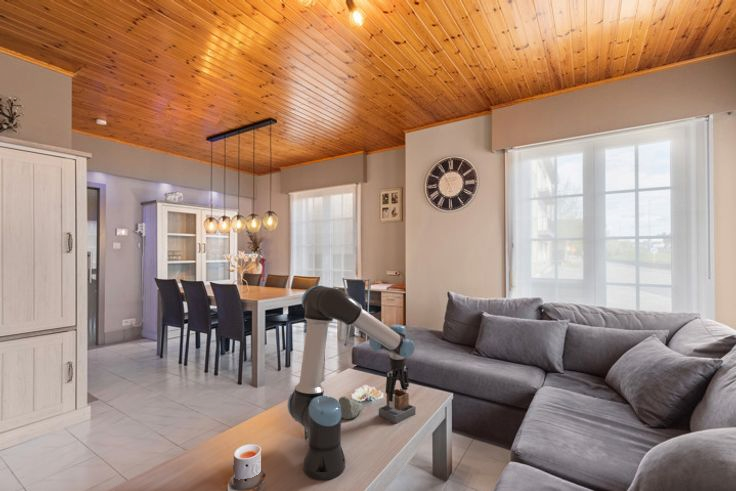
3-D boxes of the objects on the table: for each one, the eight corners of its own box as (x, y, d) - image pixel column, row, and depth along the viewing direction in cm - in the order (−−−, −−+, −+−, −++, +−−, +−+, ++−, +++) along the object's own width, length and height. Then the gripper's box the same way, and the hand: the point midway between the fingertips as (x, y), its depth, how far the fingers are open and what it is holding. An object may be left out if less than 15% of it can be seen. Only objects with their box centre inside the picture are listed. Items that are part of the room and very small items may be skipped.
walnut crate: (398, 410, 161) (398, 397, 161) (386, 405, 166) (386, 392, 167) (408, 405, 165) (408, 393, 166) (396, 400, 171) (396, 388, 171)
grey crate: (395, 424, 157) (395, 416, 157) (378, 415, 165) (378, 408, 165) (415, 414, 167) (415, 406, 167) (398, 406, 175) (398, 399, 175)
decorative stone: (340, 423, 157) (354, 405, 157) (329, 407, 165) (342, 389, 166) (357, 428, 165) (369, 411, 166) (345, 412, 173) (358, 396, 174)
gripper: (389, 363, 157) (389, 414, 156) (416, 354, 171) (416, 401, 170) (377, 360, 162) (377, 408, 162) (405, 351, 176) (404, 396, 176)
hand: (397, 405), depth 166 cm, fingers closed on walnut crate, 7 cm apart
